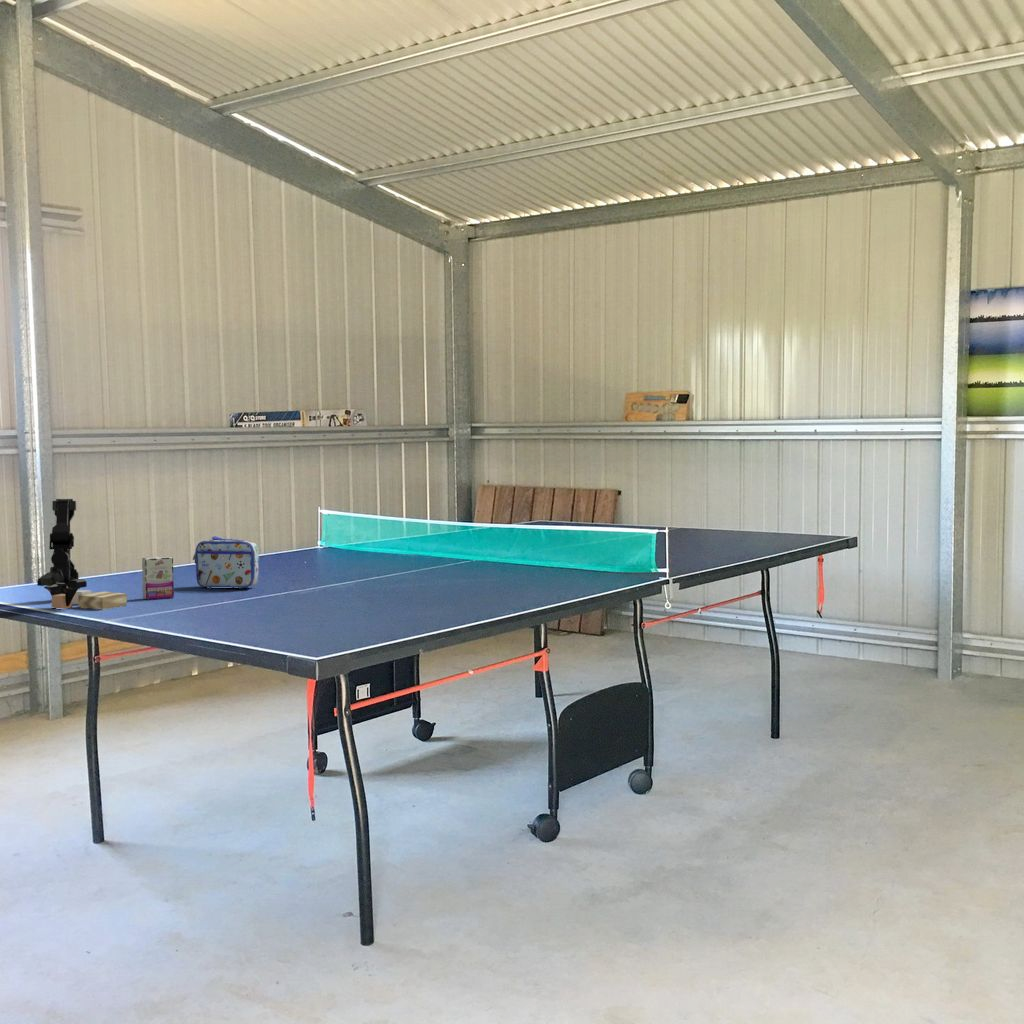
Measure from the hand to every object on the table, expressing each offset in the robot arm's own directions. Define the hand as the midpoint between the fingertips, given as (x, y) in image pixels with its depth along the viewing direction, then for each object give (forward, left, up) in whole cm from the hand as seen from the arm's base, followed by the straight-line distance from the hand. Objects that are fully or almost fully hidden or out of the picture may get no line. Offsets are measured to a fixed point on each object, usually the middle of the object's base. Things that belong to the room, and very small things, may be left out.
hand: (62, 605), depth 399 cm
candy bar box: (+14, +36, -1) cm, 39 cm away
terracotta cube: (0, 0, -1) cm, 1 cm away
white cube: (-2, +12, -1) cm, 12 cm away
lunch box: (+19, +73, -1) cm, 75 cm away
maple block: (+10, +10, -1) cm, 14 cm away
